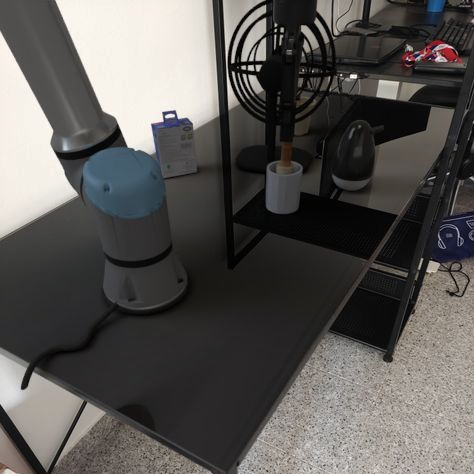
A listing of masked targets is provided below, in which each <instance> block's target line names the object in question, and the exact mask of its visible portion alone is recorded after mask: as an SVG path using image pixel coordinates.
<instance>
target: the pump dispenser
mask: <svg viewBox="0 0 474 474" xmlns="http://www.w3.org/2000/svg"><path fill="white" fill-rule="evenodd" d="M384 130H385V126H384V125H383V124H382V125H379V126H375V127H371V125H370V124H369V122H367V121H366V120H363V119H357V120H354V121H353V122H351V124H349V125H348V127H347V128H346V129H345V131H344V133H343V134H342V136H341V138H340V140H339V143H338V145H337V146H336V150H335V152H334V154H333V155H334V156H333V159H332V163H331V168H330V171H331V175H332V180H333V182H334V184H335V185H336V186H337V187H338V188H340V189H342V190H344V191H348V192H349V191H350V192H352V191H358V190H361V189H363V188H364V187H366V185H368V183H370V180H371V178H372V177H373V176H374V173H375V167H376V142H375V137H374V135H376V134H378V133H380V132H383V131H384Z"/></svg>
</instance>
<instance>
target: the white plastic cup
mask: <svg viewBox="0 0 474 474" xmlns="http://www.w3.org/2000/svg"><path fill="white" fill-rule="evenodd" d="M278 162H281V161H275V162H272V163H270V164H269V165H268V166H267V172H266V180H265V185H266V186H265V208H266V209H267V210H268V211H269V212H271V213H273V214H277V215H288V214H293V213H295V212H296V211H298V210H299V208H300V201H301V193H302V192H301V190H302V180H303V172H302V170H303V167H302V166H301V165H300V164H299V163H297V162H293V161H291V162H293V163H294V164H295V170H294V174H288V175H283V174H277V173H276V167H277V163H278Z"/></svg>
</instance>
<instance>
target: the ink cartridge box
mask: <svg viewBox="0 0 474 474" xmlns="http://www.w3.org/2000/svg"><path fill="white" fill-rule="evenodd" d="M161 115H162V121H159V122H153V123H150V127H151V133H152V139H153V144H154V150H155V156H156V161H157V162H158V164H159V166H160V168H161V172H162V176H163V178H164V179H168V178H171V177H178V176H184V175H189V174H194V173H198V168H197V167H198V165H197V155H196V154H197V153H196V143H195V133H194V123H193V122H192V121H191V120H190V119H189V117H181V118H179V115H178V114H177V110H176V109H174V110H173V109H172V110H165V111H161ZM168 115H174V116H172V117H171V116H170V117H166V116H168Z"/></svg>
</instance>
